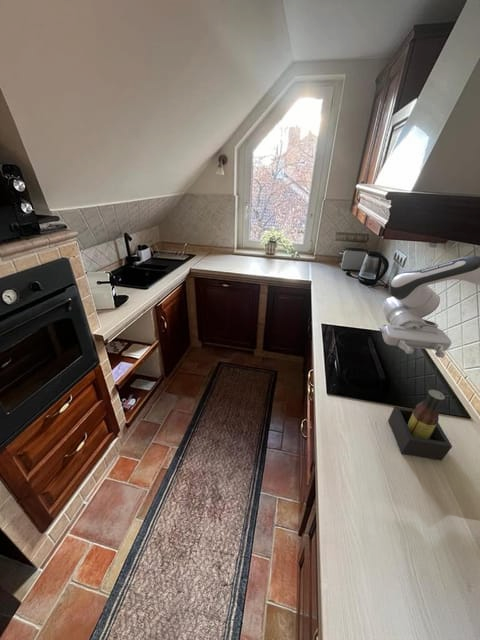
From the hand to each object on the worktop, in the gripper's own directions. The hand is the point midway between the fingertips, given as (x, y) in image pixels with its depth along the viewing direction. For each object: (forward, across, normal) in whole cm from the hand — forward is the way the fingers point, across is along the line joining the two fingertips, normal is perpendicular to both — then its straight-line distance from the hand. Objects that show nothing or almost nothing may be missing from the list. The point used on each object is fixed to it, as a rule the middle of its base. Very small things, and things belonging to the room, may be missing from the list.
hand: (426, 354), depth 79 cm
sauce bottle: (+14, 0, +24) cm, 28 cm away
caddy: (+14, 0, +24) cm, 28 cm away
